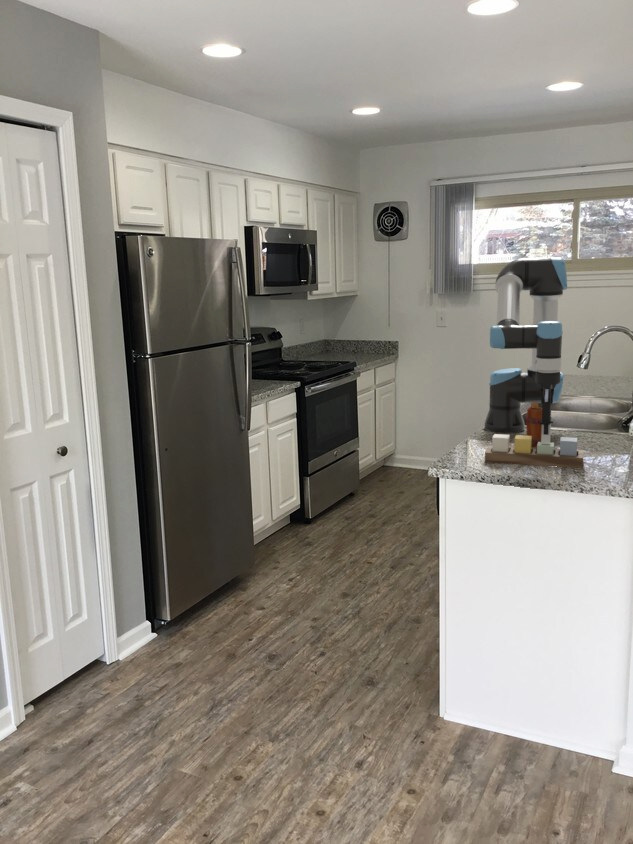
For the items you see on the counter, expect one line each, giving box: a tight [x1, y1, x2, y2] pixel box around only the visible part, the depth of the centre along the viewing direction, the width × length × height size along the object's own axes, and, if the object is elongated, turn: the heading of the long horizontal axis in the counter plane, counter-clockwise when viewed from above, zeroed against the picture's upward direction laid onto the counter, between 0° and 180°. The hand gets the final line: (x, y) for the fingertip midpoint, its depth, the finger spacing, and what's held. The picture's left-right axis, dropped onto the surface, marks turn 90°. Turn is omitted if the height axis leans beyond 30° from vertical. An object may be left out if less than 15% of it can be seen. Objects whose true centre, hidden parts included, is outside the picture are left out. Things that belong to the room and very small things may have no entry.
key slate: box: [559, 436, 578, 456], centre depth 230 cm, size 5×5×5 cm
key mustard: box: [513, 434, 532, 453], centre depth 235 cm, size 5×5×5 cm
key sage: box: [537, 442, 555, 455], centre depth 233 cm, size 5×5×5 cm
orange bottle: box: [524, 402, 542, 448], centre depth 252 cm, size 15×8×15 cm, turn 168°
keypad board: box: [484, 444, 584, 470], centre depth 234 cm, size 10×30×4 cm, turn 70°
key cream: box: [491, 433, 511, 452], centre depth 237 cm, size 5×5×5 cm
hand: (545, 443), depth 232 cm, fingers closed
